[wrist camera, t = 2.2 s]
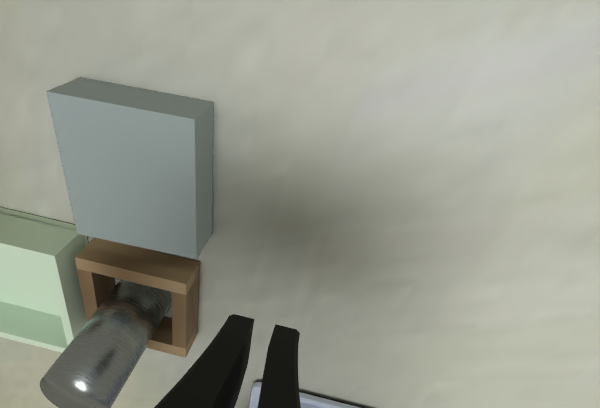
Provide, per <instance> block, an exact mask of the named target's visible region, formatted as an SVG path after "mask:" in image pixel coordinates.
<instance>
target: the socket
mask: <svg viewBox="0 0 600 408" xmlns="http://www.w3.org/2000/svg"><path fill="white" fill-rule="evenodd" d="M75 261H76V267H77V272H78V277H79V282H80V287H81V292H82V298H83V303H84V308H85V313H86V318H87V321H88V320H89V319H90V317H91V316H92V315H93V314H94V312H95V311H96V310H97V309H98V307H99V306H100V305H101V304H102V302H103V301H104V300H105V299H106V297H107V296H108V295H109V294H110V292H111V291H112V290H113V288H114V287H115V282H114V278H117V279H122V280H126V281H130V282H134V283H138V284H142V285H146V286H150V287H154V288H158V289H163V290H167V291H171V294H172V318H168V317H164V318H163V320H162V322H161V323H160V325H159V327H158V328H157V330H156V332H155V333H154V335H153V337H152V339H151V340H150V342H149V344H148V345H147V347H146V348H150V349H154V350H158V351H162V352H166V353H170V354H174V355H178V356H182V357H186V356H187V354H188V352H189V350H190V348H191V346H192V344H193V342H194V339H195V337H196V335H197V331H198V297H199V264H200V262H199V261H195V260H191V259H187V258H183V257H179V256H174V255H170V254H166V253H162V252H158V251H153V250H149V249H145V248H141V247H137V246H132V245H127V244H123V243H118V242H113V241H109V240H104V239H99V238H93V239H92V240H91V241H90V242H89V243H88V244H87V245H86V246H85V247H84V248H83V249H82V250H81V251H80V252H79V253H78V254H77V255H76V256H75Z"/></svg>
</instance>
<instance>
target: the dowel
mask: <svg viewBox="0 0 600 408" xmlns="http://www.w3.org/2000/svg"><path fill="white" fill-rule="evenodd" d="M171 305H172V294H171V291H167V290H163V289H158V288H154V287H150V286H146V285H142V284H138V283H134V282H130V281H126V280H122V279H121V280H120V281H119V282H118V283H117V285H116V286H115V287H114V288H113V290H112V291H111V292H110V294H109V295H108V296H107V297H106V299H105V300H104V301H103V302H102V304H101V305H100V306H99V307H98V309H97V310H96V311H95V312H94V314H93V315H92V316H91V317H90V319H89V320H88V321H87V322H86V324H85V325H84V326H83V327H82V329H81V330H80V331H79V333H78V334H77V335H76V336H75V338H74V339H73V340H72V341H71V343H70V344H69V345H68V346H67V348H66V349H65V350H64V351H63V353H62V354H61V355H60V356H59V358H58V359H57V360H56V361H55V363H54V364H53V365H52V367H51V368H50V369H49V370H48V372H47V373H46V374H45V375H44V377H43V378H42V379H41V381H40V388H41V390H42V392H43V394H44V395H45V396H46V398H47V399H48V400H49V401H51V402H52V403H53V404H54V405H56V406H57V407H59V408H111V406H112V404H113V403H114V401H115V399H116V398H117V396H118V394H119V393H120V391H121V389H122V387H123V386H124V384H125V382H126V381H127V379H128V377H129V376H130V374H131V372H132V371H133V369H134V367H135V366H136V364H137V362H138V360H139V359H140V357H141V355H142V354H143V352H144V350H145V349H146V347H147V345H148V344H149V342H150V340H151V339H152V337H153V335H154V333H155V332H156V330H157V328H158V327H159V325H160V323H161V322H162V320H163V318H164V317H165V315H166V313H167V311H168V310H169V308H170V306H171Z"/></svg>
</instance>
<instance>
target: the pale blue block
mask: <svg viewBox="0 0 600 408" xmlns="http://www.w3.org/2000/svg"><path fill="white" fill-rule="evenodd" d="M46 92H47V96H48V101H49V106H50V110H51V115H52V120H53V124H54V129H55V133H56V138H57V143H58V147H59V152H60V157H61V161H62V166H63V170H64V175H65V180H66V184H67V189H68V194H69V198H70V203H71V207H72V212H73V217H74V221H75V226H76V231H77V234H80V235H85V236H90V237H94V238H99V239H104V240H109V241H113V242H118V243H123V244H127V245H132V246H137V247H141V248H146V249H151V250H155V251H160V252H165V253H169V254H174V255H179V256H183V257H188V258H193V259H197V258H198V256H199V254H200V253H201V251H202V249H203V248H204V246H205V244H206V243H207V241H208V239H209V238H210V236H211V234H212V199H213V125H214V102H211V101H205V100H200V99H195V98H189V97H184V96H178V95H173V94H168V93H162V92H157V91H152V90H146V89H141V88H135V87H130V86H125V85H119V84H114V83H109V82H103V81H98V80H92V79H87V78H82V77H80V78H78V79H75V80H73V81H70V82H68V83H66V84H63V85H61V86H58V87H56V88H53V89H51V90H49V91H46Z"/></svg>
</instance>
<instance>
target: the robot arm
mask: <svg viewBox="0 0 600 408" xmlns="http://www.w3.org/2000/svg"><path fill="white" fill-rule="evenodd" d="M253 323H254V319H251V318H247V317H243V316H239V315H235V314H233V315H230V316H229V317H228V319H227V321H226V322H225V324H224V325H223V327H222V328H221V330H220V331H219V333H218V334H217V335H216V337H215V338H214V339H213V341H212V342H211V343H210V345H209V346H208V347H207V349H206V350H205V351H204V352H203V354H202V355H201V356H200V357H199V359H198V360H197V361H196V362H195V363H194V364H193V366H192V367H191V368H190V369H189V370H188V372H187V373H186V374H185V375H184V376H183V377H182V379H181V380H180V381H179V382H178V383H177V384H176V385H175V386H174V387H173V388H172V389H171V390H170V392H169V393H168V394H167V395H166V396H165V397H164V398H163V399H162V400H161V401H160V402H159V403H158V404H157V405H156V406H155V407H154V408H234V407H235V404H236V401H237V399H238V395H239V392H240V389H241V385H242V382H243V378H244V375H245V371H246V368H247V365H248V358H249V351H250V344H251V337H252V330H253ZM299 334H300V333H299V332H298V331H297V330H296V329H292V328H288V327H284V326H280V325H275V328H274V331H273V334H272V337H271V341H270V344H269V347H268V352H267V358H266V363H265V369H264V374H263V380H262V382H256V383H254V384H253V387H252V391H251V397H250V404H249V408H360V407H356V406H352V405H348V404H344V403H340V402H336V401H333V400H329V399H325V398H321V397H317V396H313V395H309V394H305V393H301V392H299V383H298V342H299Z"/></svg>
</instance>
